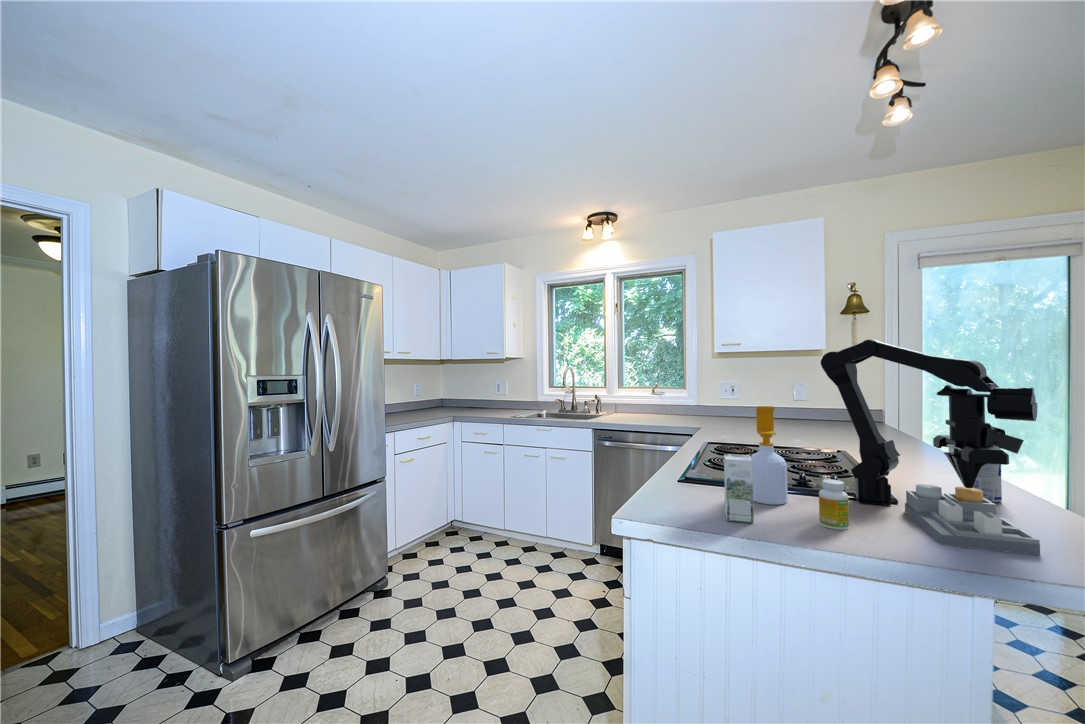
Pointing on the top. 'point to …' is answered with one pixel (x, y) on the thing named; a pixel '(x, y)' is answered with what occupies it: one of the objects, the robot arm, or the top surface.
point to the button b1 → (928, 491)
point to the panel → (968, 526)
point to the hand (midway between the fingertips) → (968, 487)
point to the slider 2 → (987, 523)
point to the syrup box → (738, 488)
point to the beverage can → (990, 481)
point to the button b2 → (968, 494)
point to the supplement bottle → (833, 505)
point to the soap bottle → (768, 463)
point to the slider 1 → (950, 511)
